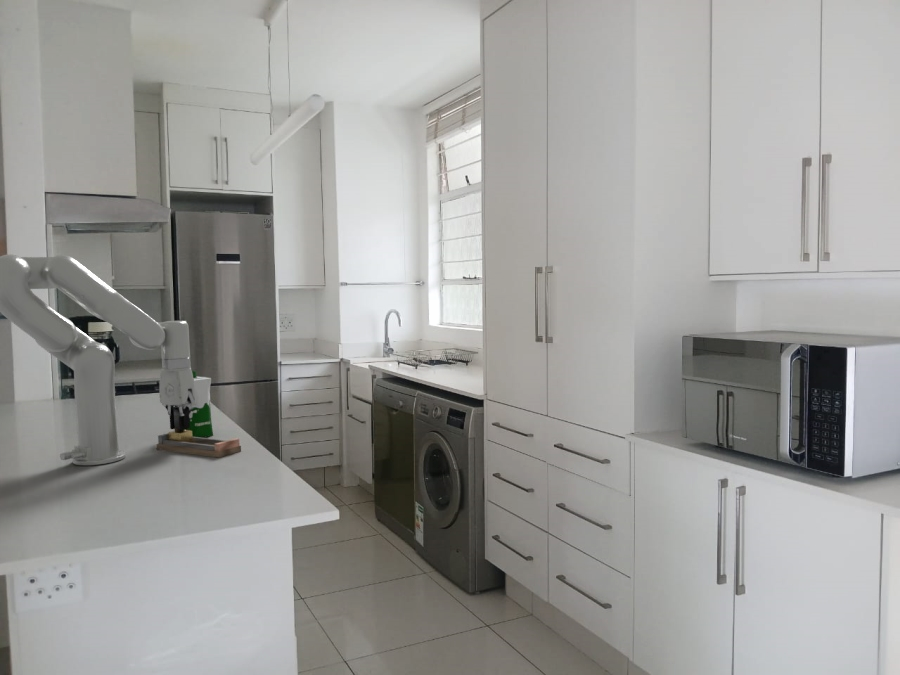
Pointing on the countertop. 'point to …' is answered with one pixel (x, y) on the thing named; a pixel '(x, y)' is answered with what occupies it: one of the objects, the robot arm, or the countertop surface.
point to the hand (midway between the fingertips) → (180, 428)
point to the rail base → (199, 446)
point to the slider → (179, 434)
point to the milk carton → (201, 408)
